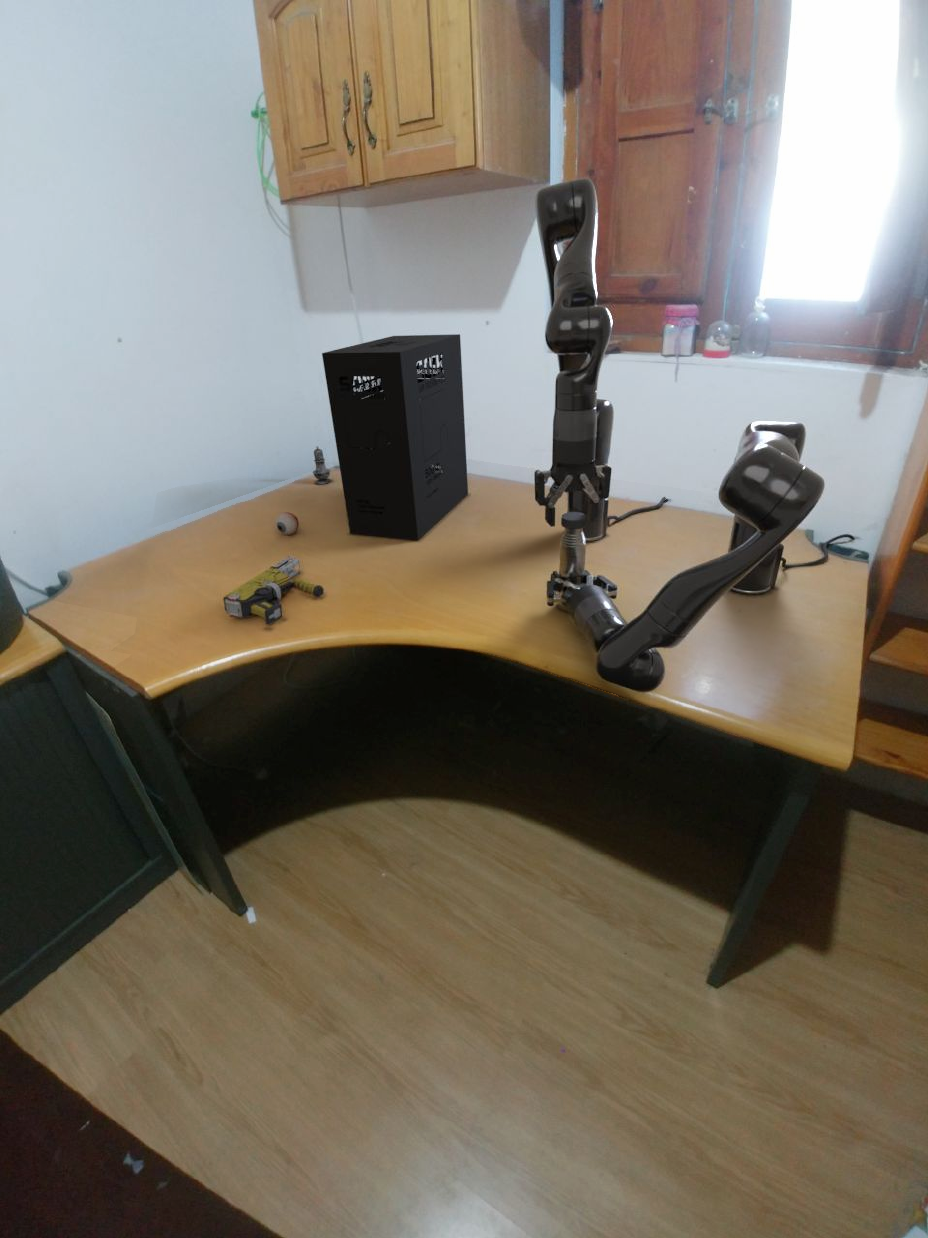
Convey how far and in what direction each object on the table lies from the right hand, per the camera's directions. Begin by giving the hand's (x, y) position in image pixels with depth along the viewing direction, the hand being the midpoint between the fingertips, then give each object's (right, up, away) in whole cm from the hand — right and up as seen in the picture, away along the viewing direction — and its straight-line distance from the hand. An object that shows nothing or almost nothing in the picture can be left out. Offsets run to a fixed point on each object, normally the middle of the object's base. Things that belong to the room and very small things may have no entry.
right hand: (567, 573), depth 122 cm
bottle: (+1, -6, +1) cm, 7 cm away
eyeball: (-69, +14, +43) cm, 82 cm away
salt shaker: (-69, +38, +84) cm, 115 cm away
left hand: (-1, +9, -8) cm, 12 cm away
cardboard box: (-36, +22, +53) cm, 68 cm away
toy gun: (-60, -5, +10) cm, 61 cm away
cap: (0, +10, -9) cm, 13 cm away
